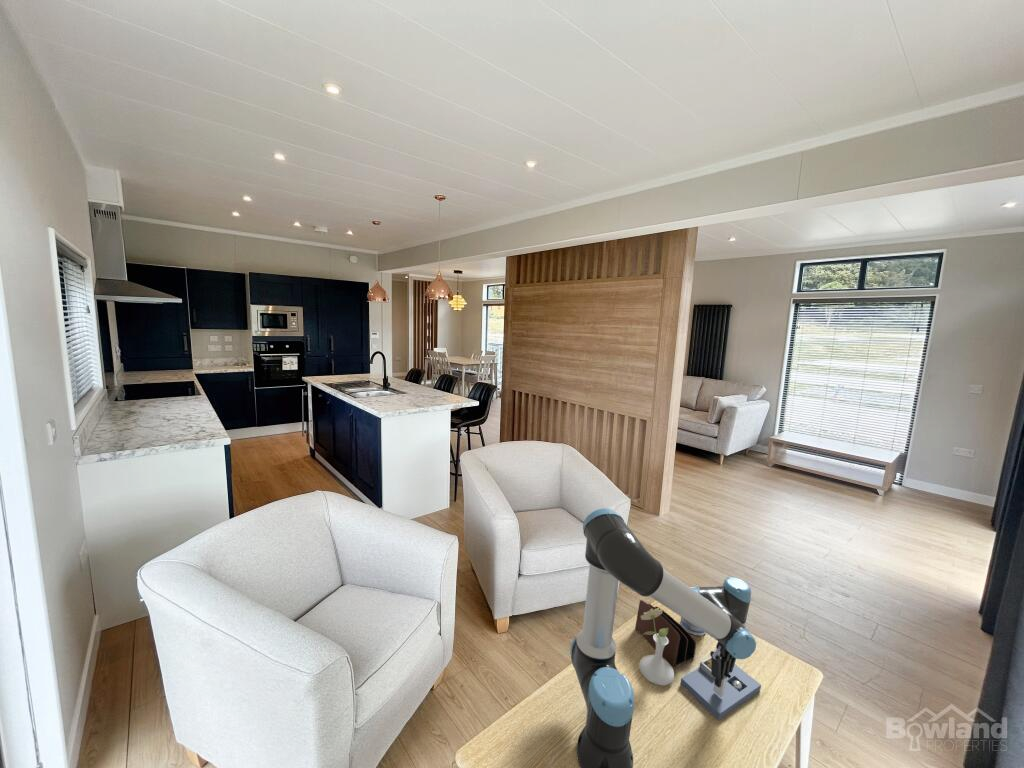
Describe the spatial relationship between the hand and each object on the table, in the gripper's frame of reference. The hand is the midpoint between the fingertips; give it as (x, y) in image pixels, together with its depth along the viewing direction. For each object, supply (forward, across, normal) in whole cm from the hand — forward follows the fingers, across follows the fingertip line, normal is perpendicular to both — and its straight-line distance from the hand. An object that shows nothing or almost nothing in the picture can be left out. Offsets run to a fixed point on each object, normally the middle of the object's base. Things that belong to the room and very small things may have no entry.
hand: (718, 692), depth 134 cm
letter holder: (+4, +4, +24) cm, 25 cm away
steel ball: (+2, +10, 0) cm, 10 cm away
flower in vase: (+4, -10, +17) cm, 20 cm away
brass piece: (-1, +7, +7) cm, 10 cm away
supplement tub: (+4, +22, +25) cm, 33 cm away
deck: (+3, +6, +3) cm, 7 cm away
